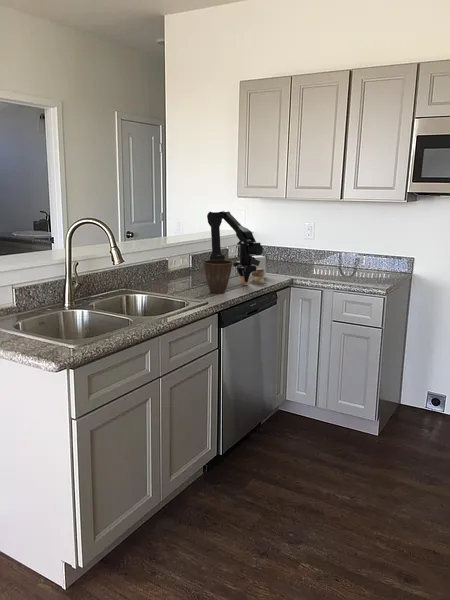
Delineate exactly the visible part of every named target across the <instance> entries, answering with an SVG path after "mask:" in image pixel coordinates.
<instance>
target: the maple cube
mask: <svg viewBox="0 0 450 600" xmlns="http://www.w3.org/2000/svg"><path fill="white" fill-rule="evenodd" d="M251 281H252V282H253V283H255V284H258V285H261V284H260V283H264V282H265V278H264V276H261V277H255V276H252V277H251Z"/></svg>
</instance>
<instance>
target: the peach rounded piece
mask: <svg viewBox="0 0 450 600" xmlns="http://www.w3.org/2000/svg"><path fill="white" fill-rule="evenodd" d="M239 279H240V280H239V281H240V282H239V284H241V285H248V284H250V283H249V282H250V278H249V279H248V282H245V279H244V276H240V275H239Z"/></svg>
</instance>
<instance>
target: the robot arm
mask: <svg viewBox="0 0 450 600" xmlns="http://www.w3.org/2000/svg"><path fill="white" fill-rule="evenodd" d="M206 218H207V223H208V225H209V227H210V234H211V235H210V236H211V254H210V256H209V260H226V258H225V257H226V255H225V254H223V253H222V249H221V235H220V234H221V230H220V228H221V224H222V222H223V221H224V222H225V223H227V224H228V225H229V226H230V227H231V228H232V229H233V230H234V232H235V235H236V237H237V239H238V242H237V243H236V245H238V246H239V254H238V258H239V260H236V261H234V262H233V267H235V268H236V271H237V273H238V275H239V277H240V276H244V279H245V282H248V279H249V280H250V277H251V276H250V273H251V272H253V271H257V267H256V266H259V263H260V261H258V260H255V257H252V256H262V254H263V251H264V248H263V245H262V244H261V242H257V241H256V239H255V237H254V235H253V232H252V231H251V230H250V229H249V228H247V227H246V226H243V225H242V224H241V223H240V222H239V221H238V220H237V219H236V218H235V217H234V215H232V214H231V212H230V211H229V210H222V211H218V210H213V211H209V212H208V213H207V215H206ZM222 220H223V221H222ZM252 264H253V265H252ZM254 265H256V266H254Z"/></svg>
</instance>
